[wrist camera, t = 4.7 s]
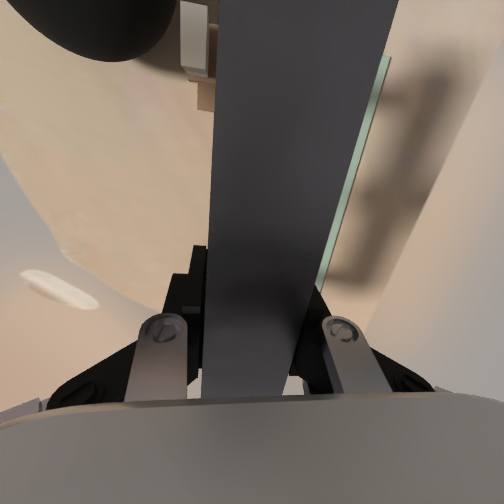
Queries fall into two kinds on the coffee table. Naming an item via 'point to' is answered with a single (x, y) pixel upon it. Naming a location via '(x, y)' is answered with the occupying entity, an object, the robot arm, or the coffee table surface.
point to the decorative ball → (100, 25)
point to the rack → (199, 51)
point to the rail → (279, 173)
